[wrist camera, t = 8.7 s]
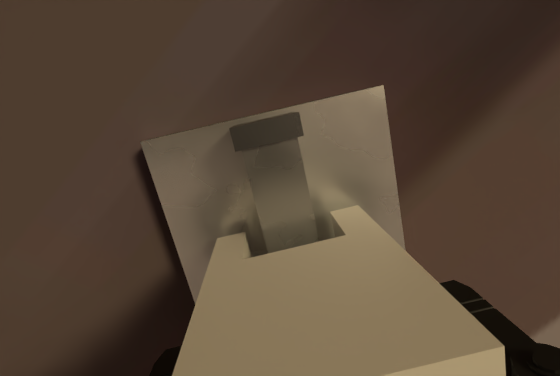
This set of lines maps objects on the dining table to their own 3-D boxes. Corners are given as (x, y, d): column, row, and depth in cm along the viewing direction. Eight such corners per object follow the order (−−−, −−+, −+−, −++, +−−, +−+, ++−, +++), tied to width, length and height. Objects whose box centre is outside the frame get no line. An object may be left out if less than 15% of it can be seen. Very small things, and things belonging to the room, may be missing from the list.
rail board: (233, 389, 17) (226, 455, 14) (150, 139, 14) (115, 148, 10) (409, 347, 17) (445, 403, 14) (372, 87, 14) (409, 80, 10)
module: (247, 340, 14) (234, 617, 6) (217, 238, 13) (154, 430, 5) (375, 309, 14) (514, 547, 6) (357, 205, 13) (504, 346, 5)
